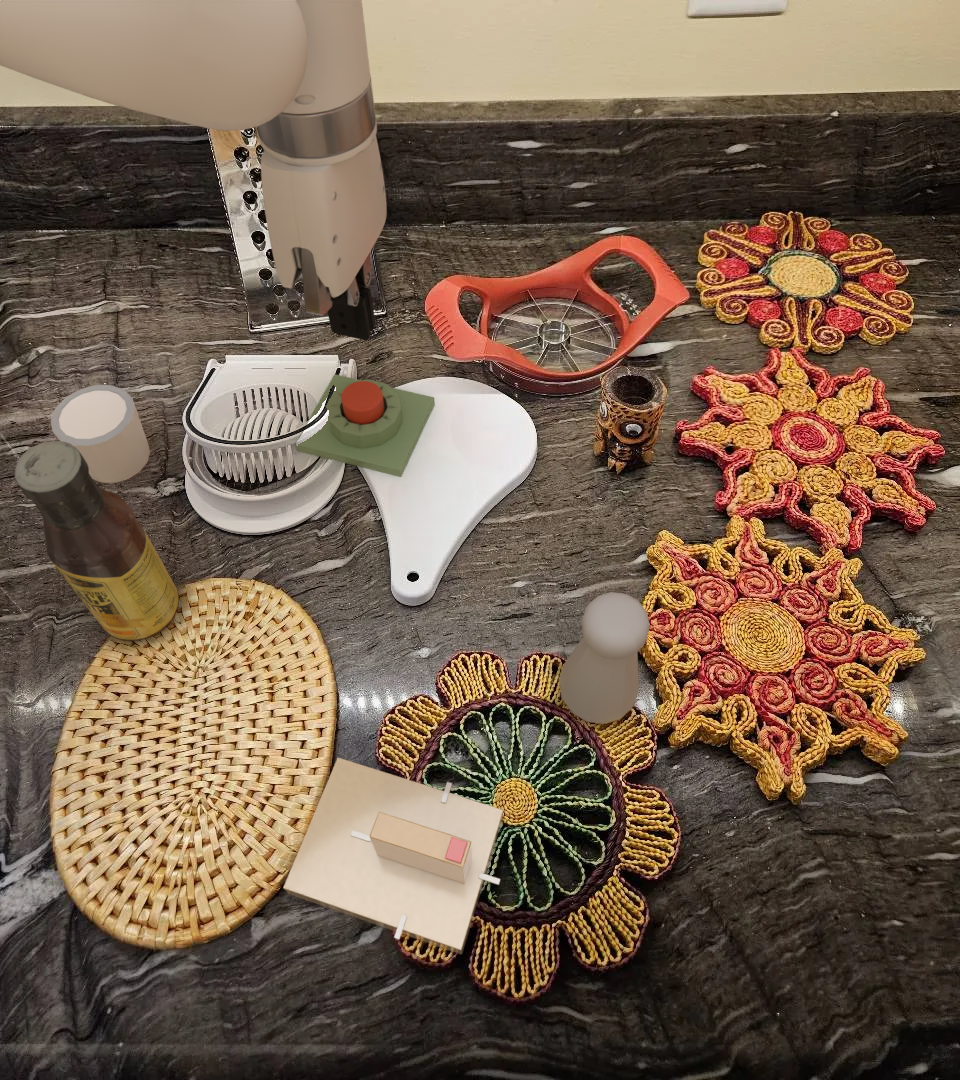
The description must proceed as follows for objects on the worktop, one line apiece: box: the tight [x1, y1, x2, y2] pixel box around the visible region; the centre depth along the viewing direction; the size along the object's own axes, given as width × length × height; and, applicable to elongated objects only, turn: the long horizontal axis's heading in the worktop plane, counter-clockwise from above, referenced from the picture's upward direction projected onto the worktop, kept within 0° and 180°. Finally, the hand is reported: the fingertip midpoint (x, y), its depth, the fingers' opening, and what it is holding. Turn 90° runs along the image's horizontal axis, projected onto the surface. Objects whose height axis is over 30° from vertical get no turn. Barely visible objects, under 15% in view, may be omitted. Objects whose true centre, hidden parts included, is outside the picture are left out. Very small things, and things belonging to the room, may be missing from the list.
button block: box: [295, 373, 436, 478], centre depth 78 cm, size 10×9×4 cm
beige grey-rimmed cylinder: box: [50, 384, 151, 484], centre depth 75 cm, size 7×7×7 cm
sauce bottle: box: [14, 440, 179, 642], centre depth 61 cm, size 7×6×20 cm
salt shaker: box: [558, 591, 651, 725], centre depth 60 cm, size 6×6×13 cm
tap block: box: [283, 757, 504, 955], centre depth 57 cm, size 13×10×3 cm
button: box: [341, 381, 384, 425], centre depth 76 cm, size 4×4×2 cm
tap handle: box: [370, 812, 472, 884], centre depth 54 cm, size 6×2×5 cm, turn 73°
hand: (354, 329), depth 69 cm, fingers closed
